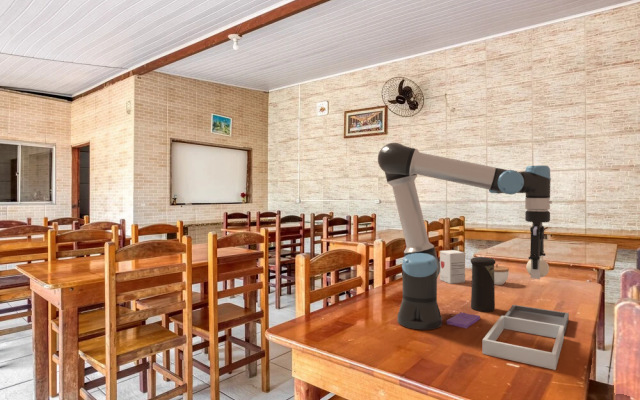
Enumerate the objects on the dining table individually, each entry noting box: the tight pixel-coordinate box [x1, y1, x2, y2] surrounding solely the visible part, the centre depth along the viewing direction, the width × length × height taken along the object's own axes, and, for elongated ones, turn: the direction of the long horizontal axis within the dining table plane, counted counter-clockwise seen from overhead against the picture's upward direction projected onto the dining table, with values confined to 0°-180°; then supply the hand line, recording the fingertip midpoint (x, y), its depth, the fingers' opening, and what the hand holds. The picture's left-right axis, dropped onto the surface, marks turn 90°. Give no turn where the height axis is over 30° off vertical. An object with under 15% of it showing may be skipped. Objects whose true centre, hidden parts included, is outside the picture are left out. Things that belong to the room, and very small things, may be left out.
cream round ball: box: [525, 258, 550, 278], centre depth 139 cm, size 7×7×7 cm
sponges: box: [446, 312, 481, 329], centre depth 141 cm, size 7×13×2 cm, turn 139°
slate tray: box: [504, 304, 570, 337], centre depth 140 cm, size 18×18×2 cm
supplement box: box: [439, 249, 466, 285], centre depth 201 cm, size 9×9×15 cm
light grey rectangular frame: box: [481, 315, 565, 371], centre depth 119 cm, size 26×18×4 cm
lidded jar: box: [494, 263, 510, 286], centre depth 196 cm, size 11×11×9 cm
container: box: [470, 256, 496, 313], centre depth 155 cm, size 9×9×20 cm
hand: (536, 276), depth 139 cm, fingers closed on cream round ball, 7 cm apart
